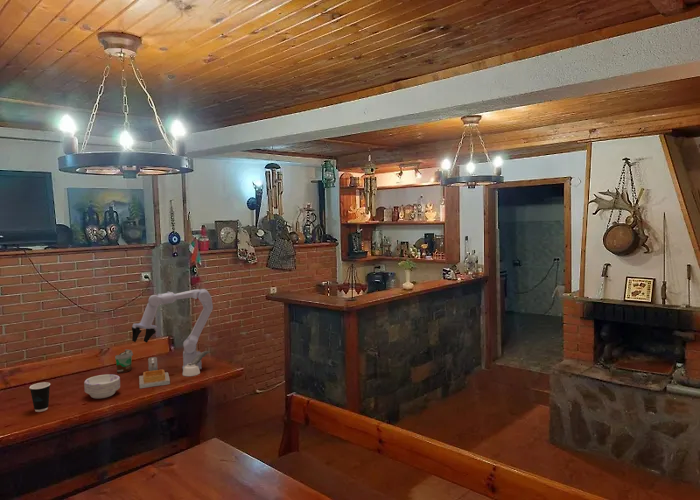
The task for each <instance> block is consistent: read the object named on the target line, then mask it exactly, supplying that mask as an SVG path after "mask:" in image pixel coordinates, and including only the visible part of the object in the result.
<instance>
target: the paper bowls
mask: <svg viewBox="0 0 700 500" xmlns="http://www.w3.org/2000/svg"><path fill="white" fill-rule="evenodd" d="M83 384H84V393H86V394H88V395H89V396H90V397H91V398H93V399H98V400H99V399H106V398H110V397H113V395H114V394H115V393H116V392H117V391H118V390H119V389H120V388H121V377H120V376H119V375H117V374H112V373H111V374H99V375H94V376H91V377H88V378H86V379H85V380H84V382H83Z"/></svg>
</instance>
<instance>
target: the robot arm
mask: <svg viewBox="0 0 700 500" xmlns="http://www.w3.org/2000/svg"><path fill="white" fill-rule="evenodd" d="M189 298H190V299H191V298H192V299H195V300H197V299H198V300H199V302H200V303H201V305H202V310H201V312H200V313H199V316H198V317H197V320H196V322H195V324H194V326H193V328H192V330H191V332H190V334H189V335H188V336H187V338H186V339H184V341H183V342H182V343H183V344H182V346H183V351H182V362H183V363H182V364H183V365H182V366H181V367H182V370H183V369H184V366H186V365H187V364H189V363H192V361H193V360H194V359H195V357H197V356H198V355H199V354H200V353H202V352H201V351H198V350H197V344H198V341H199V338H200V336H201V333H202V331H203V329H204V328H205V326H206V323H207V322H208V319H209V317H210V315H211V313H212V311H213V308H214V306H213V305H214V304H213V299H212V296H211V293H210V292H209V291H208V290H207V289H205V288H200V289H197V288H196V289H190V290H186V291H182V292H177V293H174V292H173V291H166V292H165V293H157V294H152V295H150V296H149V298H148V301H147V302H148V303H147V304H146V307H145V309H144V312H143V314H142V317H141V319H140V321H139V323H134V322H133V324H132V326H131V330H132V331H131V333H132V338H131V341H132V342H134V343H136V342H137V340H138V338H139V336H140V334H141V332H142V330H141V329H145V334H144V337H143V338H144V339H143V342H144V343H148V342H149V340H150V339H151V337H153V335H155V334H156V332H157V329H158V326H157V325H155V324H153V322H154V319H155V317H156V315H157V311H158V307H159V306H161V305H162V306H163V305H169V304H173V303H175V302H176V301H177V300H182V299H189ZM196 365H198V367H199V370H202V369H203V368H202V359H201V360H200V362H199V363H198V364H196Z"/></svg>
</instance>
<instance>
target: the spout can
mask: <svg viewBox="0 0 700 500" xmlns="http://www.w3.org/2000/svg"><path fill="white" fill-rule="evenodd" d="M147 363H148V364H147V365H148V371H153V370H159V369H158V357H156V356H151V357H148V358H147Z"/></svg>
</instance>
